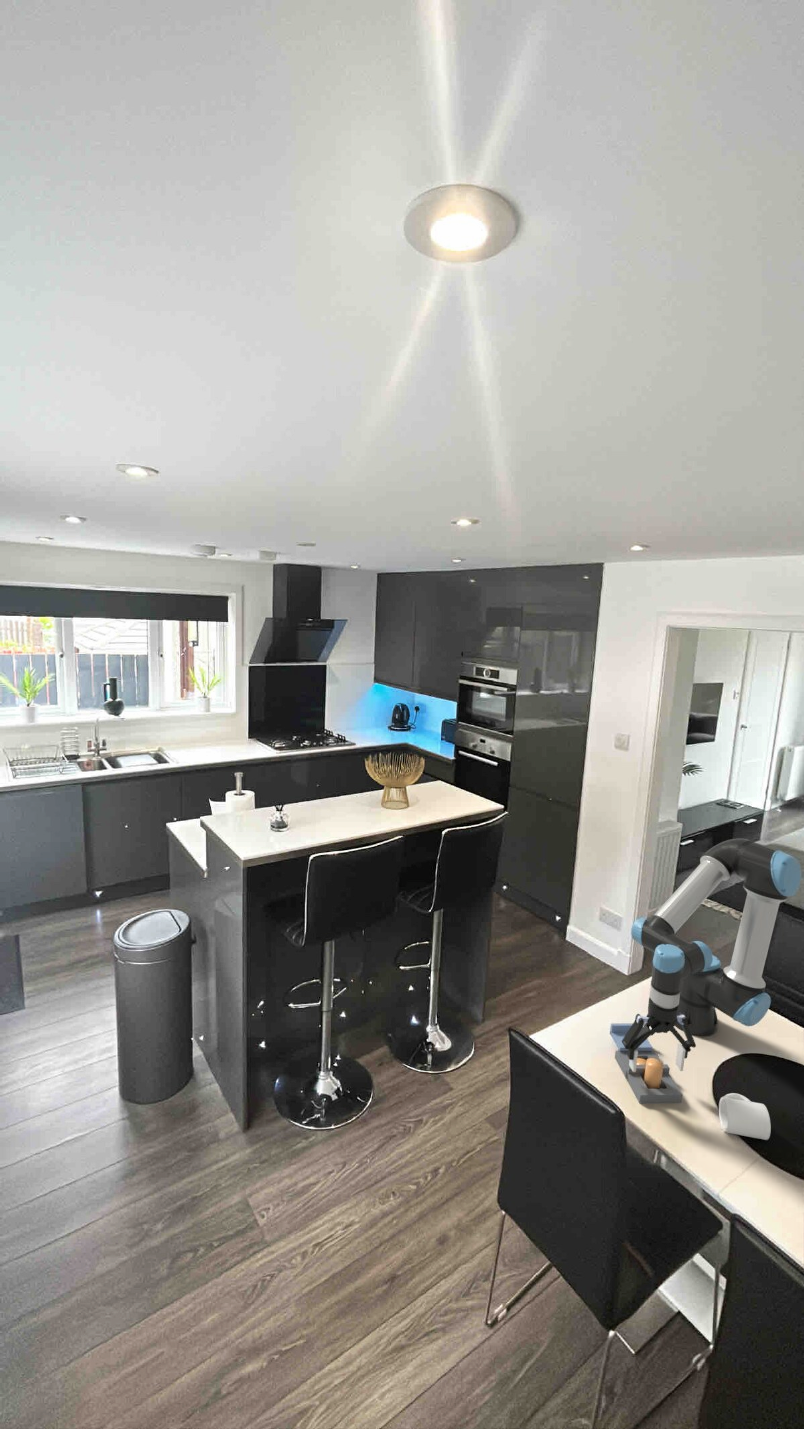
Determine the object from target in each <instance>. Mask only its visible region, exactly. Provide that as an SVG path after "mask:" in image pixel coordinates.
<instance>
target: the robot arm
mask: <svg viewBox="0 0 804 1429" xmlns="http://www.w3.org/2000/svg"><path fill="white" fill-rule="evenodd" d="M699 862H700V863H699V864H698V866H697V867H696V868H695V869H694V870H693V871H692V872H691V873H690V874H689V876H688V877H687V878H686V879H685V880H684V881H683V882H682V883H681V885H680V886H679V887H678V888H677V889H676V890H675V891H674V892H673V893H672V894H671V896H670V897H669V898H668V899H667V900H666V901H665V902H664V903H663V904H662V905H661V906H660V908H658V909H657V911H656V912H655V913H654V914H653V915H652V916H651V917H650V918H649V919H648V918H644V917H640V918H637V919H636V920H635V921H634V922H633V924H632V926H631V929H630V935H631V936H630V937H631V938H632V940H633V941H635V942H636V943H638V945H640V946H641V947H643V948H644V949H647V950H649V951H650V952H652V953H654V955H653V958H652V972H651V980H650V988H649V997H648V1006H647V1015H646V1016H644V1015H643V1016H642V1015H641V1014H640V1013H637V1014H636V1015H635V1020H634V1022H632V1023H633V1024H632V1026H631V1027H630V1029H629V1031H628V1032H627V1034H626V1035H625V1037H624V1038H623V1040H622V1043H623V1045H624V1047H625V1048H626V1049H628V1053H627V1055H628V1057H629V1059H630V1061H629V1066H630V1067H631V1069H632V1071H633V1072H636V1065H637V1056H638V1051H637V1048H638V1047H639V1046H640V1045H641V1044H642V1043H643V1042H644V1041H645V1040H646V1039H648V1038H650V1037H651V1036H654V1034H661V1033H663V1034H667V1033H668V1032H670V1033H671V1034H672V1035H673V1036H674V1037H675V1038H676V1039H677V1040H678V1042H679V1043H678V1044H677V1048H676V1049H677V1050H676V1057H675V1058H676V1059H675V1065H676V1066H677V1068H678V1070H679V1071H680V1072H683V1071H684V1065H685V1060H686V1059H687V1058H688V1055H689V1054H688V1053H689V1052H691V1050H692V1049H691V1048H696V1047H697V1044H696V1042H695V1040H694V1037H693V1036H701V1037H707V1036H712V1035H714V1034H715V1033H717V1030H718V1025H719V1020H718V1015H717V1014H718V1013H717V1011H716V1010H718V1011H720V1012H721V1013H723V1014H724V1015H726V1016H728V1017H730V1018H731V1019H732V1020H734V1021H736V1022H738V1023H740V1024H741V1025H744V1026H745V1027H753V1026H755V1025H757V1024H759V1023H760V1022H761V1021H762V1020H763V1018H764V1017H765V1016H766V1015H767V1013H768V1010H769V1008H770V1006H771V1002H772V999H771V996H770V995H769V994H768V993H767V992H765V989H766V985H767V984H766V982H765V979H764V978H763V973H764V967H765V964H766V960H767V957H768V951H769V948H770V944H771V939H772V935H773V932H774V927H775V923H776V920H777V915H778V911H779V907H780V904H782V903H783V902H785V901H786V902H787V899H788V897H793V896H794V895H795V894H796V893H797V892H798V888H799V887H800V884H801V881H802V868H801V865H800V863H799V861H798V859H797V858H796V857H794V856H792V855H791V854H787V853H785V852H784V851H782V850H778V849H776V848H773V847H770V846H767V845H764V844H761V843H758V842H756V841H753V840H751V839H747V838H740V837H739V838H732V839H731V838H730V839H727V840H725V841H722V842H720V843H718V844H716V845H714V846H712V847H711V848H709V849H708V850H706V851H705V853H704V854H703V855H702V856H701V857H700V859H699ZM732 876H738V877H740V878H742V879H744V881H743V884H742V885H743V886H742V887H743V889H744V891H746V897H745V902H744V906H743V909H742V910H743V911H742V915H741V918H740V921H739V922H740V923H739V927H738V932H737V935H736V940H735V943H734V948H733V953H732V957H731V961H730V965H727V966H726V967H723V968H722V967H721V966H722V963H721V960H720V958H718V957H717V956H716V955H713V953H712V950H711V949H710V947H709V946H708V945H707V944H706V943H705V942H703V941H700V940H694V941H690V942H688V941H687V940H685V939H683V938H682V937H680V936H677V935H675V934H676V933H677V932H678V931H679V930H680V928H682V926H683V925H684V924H685V923H686V922H687V921H688V919H689V918H690V917H691V916H693V914H694V913H695V911H697V909H698V908H699V907H700V906H701V905H702V903H704V901H705V900H707V898H708V897H709V896H710V895H711V894H712V892H713V891H714V890H716V888H717V887H718V885H719V884H721V883H722V881H725V882H726V881H728V880H730V878H731V877H732ZM642 1027H643V1028H642ZM675 1027H677V1028H678V1029H679V1030H681V1031H683V1033H684V1036H685V1038H686V1040H685V1039H684V1038H683V1036H682V1035H681V1034H680V1033H679V1032H678V1030H677V1029H676V1028H675ZM650 1028H651V1029H650Z"/></svg>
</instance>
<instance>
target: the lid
mask: <svg viewBox="0 0 804 1429" xmlns="http://www.w3.org/2000/svg"><path fill="white" fill-rule="evenodd" d="M633 1023H634V1022H631V1023H630V1022H629V1023H623V1022H622V1023H621V1022H620V1023H613V1022H612V1023H610V1026H609V1027H610V1029H609V1035H610V1036H611V1038H612V1040H613V1041H614V1042H613V1043H615V1046H616V1047H617V1049H618V1051H628V1049H626V1048H625V1047H624V1045H623V1043H622V1040H623V1038H624V1037H625V1035H626V1034H627V1032H628V1031H629V1029H630V1027H631V1026H632V1024H633ZM643 1027H644V1026H643ZM643 1027H642V1028H643ZM652 1050H653V1045H652V1044H651V1043H650V1041H649V1040H648V1038H647V1039H646V1040H645V1041H644V1042H643V1043H642V1044H641V1045H640V1046H639V1047H638V1048H637V1051H652Z"/></svg>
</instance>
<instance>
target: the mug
mask: <svg viewBox="0 0 804 1429" xmlns="http://www.w3.org/2000/svg"><path fill="white" fill-rule="evenodd" d="M718 1114H719V1122H720V1126H721V1128H722V1130H723V1132H725V1133H726V1134H732V1135H738V1136H744V1137H749V1138H753V1139H758V1140H759V1139H761V1140H764V1141H768V1140H769V1139H770V1137H771V1129H772V1127H771V1118H770V1117H771V1116H770V1113H769V1111H768V1108H767V1106H766V1105H765V1104H764V1103H761V1102H755V1101H751V1100H750V1099H749V1098H747V1097H746V1096H745V1095H742V1094H740V1093H734V1092H731V1093H727V1094H725V1095H724V1096H722V1097H720V1099H719V1102H718Z"/></svg>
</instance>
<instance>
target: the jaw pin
mask: <svg viewBox="0 0 804 1429" xmlns="http://www.w3.org/2000/svg"><path fill="white" fill-rule="evenodd" d="M661 1062H662V1061H661ZM661 1062H660V1061H659V1060H657V1059H655V1058H649V1059H647V1061H646V1068H645V1076H644V1083H645V1084H646V1086H647V1088H648V1089H661V1079H662V1072H663V1065H664V1063H663V1062H662V1063H663V1064H662V1063H661Z"/></svg>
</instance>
